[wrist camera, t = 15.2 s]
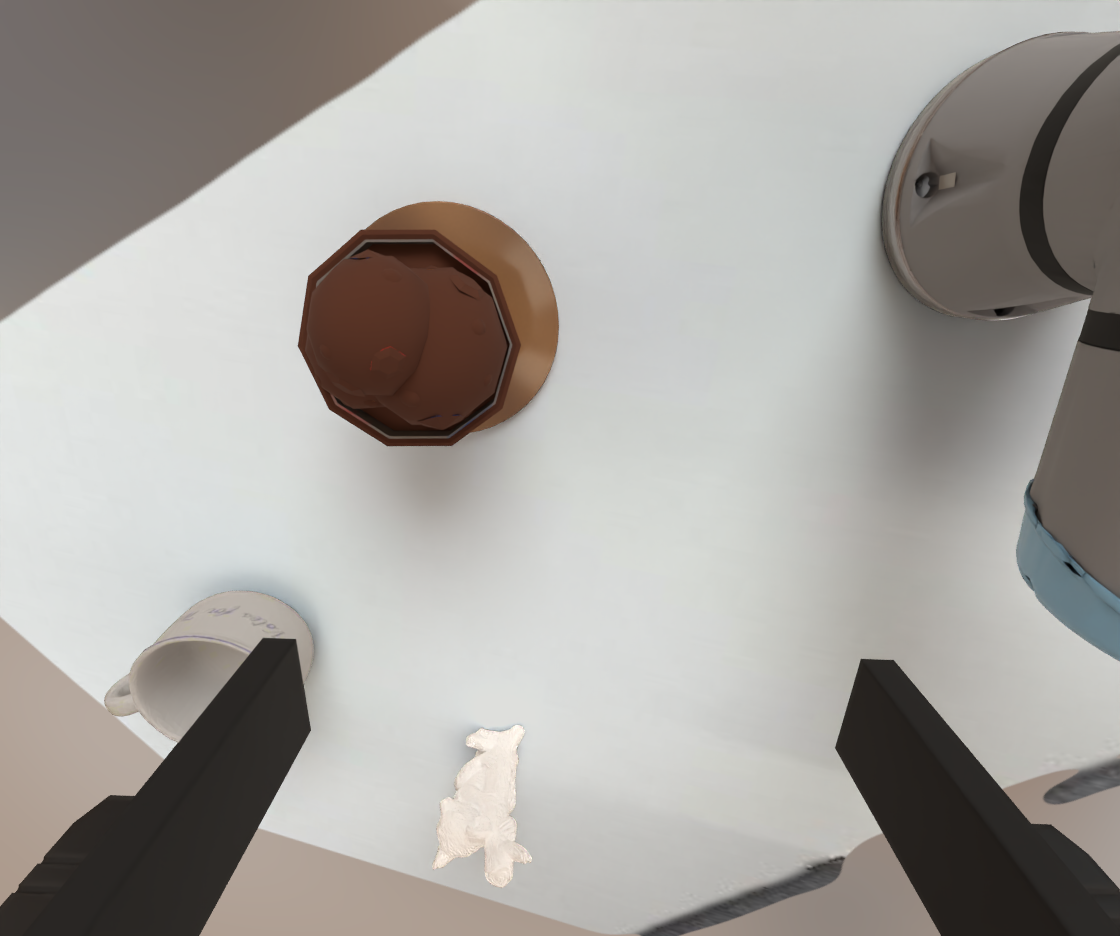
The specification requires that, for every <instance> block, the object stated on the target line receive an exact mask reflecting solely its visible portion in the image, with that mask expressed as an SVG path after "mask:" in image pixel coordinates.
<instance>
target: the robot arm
mask: <svg viewBox="0 0 1120 936" xmlns="http://www.w3.org/2000/svg"><path fill="white" fill-rule="evenodd" d="M882 231H883V240H884V245H885V249H886V253H887V256H888V259H889V262H890V264H891V267H892V269H893V271H894V273H895V275H896V276H897V278H898V279H899V281H900V283H901V284H902V285H903V286H904V288H905V289H906V290H907V291H908V292H909V293H910V294H911V295H912V296H913V297H914V298H915V299H917V300H918V301H919V302H921V303H922V304H924V305H925V306H927V307H929V308H931V309H933V310H935V311H938V312H940V313H943V314H947V315H950V316H955V317H961V318H969V319H977V320H990V321H992V320H1007V319H1014V318H1019V317H1023V316H1027V315H1030V314H1034V313H1037V312H1041V311H1045V310H1049V309H1052V308H1056V307H1059V306H1063V305H1067V304H1070V303H1074V302H1077V301H1081V300H1085V299H1088V298H1091V301H1090V304H1089V309H1088V312H1087V315H1086V319H1085V322H1084V325H1083V328H1082V332H1081V335H1080V337H1079V339H1078V341H1077V345H1076V348H1075V351H1074V354H1073V357H1072V361H1071V364H1070V367H1069V370H1068V373H1067V377H1066V380H1065V383H1064V386H1063V389H1062V392H1061V396H1060V399H1059V402H1058V405H1057V408H1056V412H1055V415H1054V418H1053V421H1052V424H1051V428H1050V431H1049V434H1048V437H1047V440H1046V443H1045V447H1044V450H1043V453H1042V456H1041V459H1040V463H1039V466H1038V469H1037V472H1036V475H1035V478H1034V479H1032V480H1030V482H1029V483H1028V485H1027V487H1026V491H1025V495H1024V505H1025V513H1024V517H1023V522H1022V526H1021V531H1020V535H1019V539H1018V543H1017V549H1016V557H1017V564H1018V567H1019V571H1020V573H1021V575H1022V577H1023V579H1024V580H1025V582H1026V583H1027V585H1028V586H1029V587H1030V588H1031V589H1032V590H1033V591H1034V592H1035V595H1036V597H1037V599H1038V600H1039V602H1040V603H1041V604H1042V605H1043V606H1044V607H1045V608H1046V609H1047V610H1048V611H1049V612H1050V613H1051V614H1053V615H1054V616H1055V617H1056V618H1057V619H1058V620H1059V621H1060V622H1062V623H1063V624H1064V625H1065V626H1067V627H1068V628H1069V629H1070V630H1072V631H1073V632H1074V633H1076V634H1077V635H1079V636H1080V637H1081V638H1083V639H1084V640H1086V641H1087V642H1089V643H1090V644H1092V645H1093V646H1095V647H1096V648H1098V649H1100V650H1101V651H1103V652H1104V653H1106V654H1108V655H1110V656H1111V657H1113V658H1115V659H1116V660H1118V661H1120V31H1115V32H1100V33H1088V32H1058V33H1051V34H1045V35H1041V36H1038V37H1034V38H1031V39H1028V40H1025V41H1023V42H1020V43H1017V44H1015V45H1013V46H1011V47H1009V48H1007V49H1005V50H1003V51H1001V52H999V53H997V54H994V55H992V56H990V57H988V58H986V59H984V60H982V61H980V62H978V63H977V64H975V65H973V66H972V67H970V68H969V69H967V70H965V71H964V72H963V73H961V74H960V75H959V76H957V77H956V78H955V79H953V80H952V81H951V82H950V83H949V84H948V85H946V86H945V87H944V88H943V89H942V90H941V91H940V92H939V93H938V94H937V95H936V96H935V97H934V98H933V99H932V100H931V101H930V102H929V104H928V105H927V106H926V107H925V108H924V110H923V111H922V112H921V113H920V115H919V116H918V118H917V119H916V120H915V122H914V123H913V125H912V126H911V128H910V129H909V131H908V133H907V134H906V136H905V138H904V140H903V142H902V144H901V146H900V148H899V149H898V152H897V154H896V157H895V159H894V161H893V164H892V167H891V170H890V173H889V176H888V180H887V184H886V188H885V193H884V199H883V208H882ZM310 731H311V727H310V721H309V715H308V709H307V703H306V697H305V690H304V684H303V678H302V672H301V666H300V660H299V653H298V647H297V641H296V639H284V638H262V639H261V641H260V642H259V643H258V644H257V646H256V647H255V648H254V649H253V651H252V652H251V653H250V654H249V656H248V657H247V658H246V659H245V661H244V662H243V663H242V664H241V665H240V667H239V668H238V669H237V670H236V672H235V673H234V674H233V675H232V677H231V678H230V679H229V680H228V682H227V683H226V684H225V685H224V686H223V688H222V689H221V690H220V691H219V693H218V694H217V695H216V696H215V698H214V699H213V700H212V701H211V703H210V704H209V705H208V706H207V708H206V709H205V710H204V711H203V712H202V714H201V715H200V716H199V717H198V719H197V720H196V721H195V722H194V724H193V725H192V726H191V727H190V729H189V730H188V731H187V732H186V734H185V735H184V736H183V737H182V738H181V740H180V741H179V742H178V743H177V745H176V746H175V747H174V748H173V750H172V751H171V752H170V753H169V755H168V756H167V757H166V758H165V759H164V761H163V762H162V763H161V765H160V766H159V767H158V768H157V769H156V771H155V772H154V773H153V775H152V776H151V777H150V778H149V780H148V781H147V782H146V783H145V784H144V786H143V787H142V788H141V789H140V790H139V792H138V793H137V794H136V795H135V796H116V795H110V796H108V797H107V798H106V799H105V800H103V801H102V802H101V803H99V804H98V805H97V806H95V807H94V808H93V809H91V810H90V811H89V812H87V813H86V814H85V815H84V816H82V817H81V818H80V819H78V820H77V821H76V822H74V823H73V824H72V826H71V827H70V828H69V829H68V830H67V831H66V832H65V833H64V834H63V836H62V837H61V838H60V839H59V840H58V841H57V843H56V844H55V845H54V846H53V847H52V848H51V849H50V851H49V852H48V853H47V854H46V855H45V856H44V860H43V861H42V863H41V864H37V865H36V866H35V867H34V869H33V870H32V871H31V872H30V873H29V874H28V875H27V877H26V878H25V879H24V880H23V881H22V882H21V883H20V884H19V888H18V890H17V891H16V892H15V893H12V894H11V895H10V896H9V897H8V898H7V899H6V901H5V902H4V903H3V904H2V905H1V906H0V936H199V935H200V933H201V931H202V930H203V928H204V926H205V924H206V922H207V920H208V918H209V917H210V915H211V913H212V911H213V909H214V908H215V906H216V904H217V902H218V900H219V898H220V896H221V895H222V893H223V891H224V889H225V887H226V885H227V884H228V882H229V880H230V878H231V876H232V874H233V873H234V871H235V869H236V867H237V865H238V863H239V861H240V860H241V858H242V856H243V854H244V852H245V850H246V849H247V847H248V845H249V843H250V841H251V839H252V838H253V836H254V834H255V832H256V830H257V828H258V827H259V825H260V823H261V821H262V819H263V817H264V816H265V814H266V812H267V810H268V808H269V806H270V805H271V803H272V801H273V799H274V797H275V795H276V793H277V792H278V790H279V788H280V786H281V784H282V782H283V781H284V779H285V777H286V775H287V773H288V771H289V770H290V768H291V766H292V764H293V762H294V760H295V759H296V757H297V755H298V753H299V751H300V749H301V747H302V746H303V744H304V742H305V740H306V738H307V736H308V735H309V733H310ZM835 749H836V750H837V752H838V754H839V756H840V757H841V759H842V761H843V763H844V765H845V766H846V768H847V770H848V772H849V773H850V775H851V777H852V779H853V780H854V782H855V784H856V786H857V788H858V789H859V791H860V793H861V795H862V796H863V798H864V800H865V802H866V803H867V805H868V807H869V809H870V811H871V812H872V814H873V816H874V818H875V819H876V821H877V823H878V825H879V826H880V828H881V830H882V832H883V834H884V835H885V837H886V838H887V841H888V842H889V844H890V846H891V848H892V849H893V851H894V853H895V855H896V857H897V858H898V860H899V862H900V863H901V865H902V867H903V869H904V871H905V872H906V874H907V876H908V878H909V880H910V881H911V883H912V885H913V887H914V888H915V890H916V892H917V894H918V895H919V897H920V899H921V901H922V903H923V904H924V906H925V908H926V910H927V911H928V913H929V915H930V917H931V919H932V920H933V922H934V924H935V925H936V927H937V929H938V931H939V933H940V934H941V936H1120V889H1119V888H1118V887H1117V886H1116V885H1115V883H1114V882H1113V881H1112V880H1111V879H1110V878H1109V877H1108V876H1107V875H1106V873H1105V872H1104V871H1103V870H1102V869H1101V868H1100V867H1099V866H1098V865H1097V863H1096V862H1095V861H1094V860H1093V859H1092V858H1091V857H1090V856H1089V855H1088V854H1087V853H1086V852H1085V851H1084V850H1082V849H1081V848H1080V847H1079V846H1077V845H1076V844H1075V843H1073V842H1072V841H1071V840H1070V839H1068V838H1067V837H1066V836H1065V835H1063V834H1062V833H1061V832H1060V831H1058V830H1057V829H1056V828H1054V827H1053V826H1052V825H1047V824H1031V823H1030V822H1029V821H1028V820H1027V818H1025V816H1024V815H1023V814H1022V813H1021V811H1020V810H1019V809H1018V808H1017V806H1016V805H1015V804H1014V803H1013V802H1012V801H1011V799H1010V798H1009V797H1008V796H1007V795H1006V793H1005V792H1004V791H1003V790H1002V789H1001V787H1000V786H999V785H998V784H997V783H996V781H995V780H994V779H993V778H992V777H991V775H990V774H989V773H988V772H987V771H986V770H985V768H984V767H983V766H982V765H981V764H980V762H979V761H978V760H977V759H976V758H975V756H974V755H973V754H972V753H971V752H970V750H969V749H968V748H967V747H966V746H965V745H964V743H963V742H962V741H961V740H960V739H959V737H958V736H957V735H956V734H955V733H954V731H953V730H952V729H951V728H950V727H949V725H948V724H947V723H946V722H945V721H944V720H943V718H942V717H941V716H940V715H939V714H938V712H937V711H936V710H935V709H934V708H933V706H932V705H931V704H930V703H929V702H928V700H927V699H926V698H925V697H924V696H923V695H922V693H921V692H920V691H919V690H918V689H917V687H916V686H915V685H914V684H913V683H912V681H911V680H910V679H909V678H908V677H907V675H906V674H905V673H904V672H903V671H902V670H901V668H900V667H899V666H898V665H897V664H896V662H895V661H894V660H874V659H861V661H860V664H859V668H858V671H857V675H856V678H855V682H854V685H853V688H852V692H851V695H850V699H849V702H848V706H847V709H846V712H845V716H844V719H843V723H842V726H841V730H840V733H839V736H838V740H837V743H836V747H835Z"/></svg>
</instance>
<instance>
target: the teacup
mask: <svg viewBox="0 0 1120 936" xmlns="http://www.w3.org/2000/svg"><path fill="white" fill-rule="evenodd" d="M262 638H284V639H296V641H297V647H298V653H299V660H300V666H301V672H302V678H303V684H304V683H305V681H306V679H307V677H308V674H309V672H310V669H311V665H312V661H313V655H314V646H313V639H312V636H311V633H310V630H309V628H308V627H307V625H306V623H305V622H304V620H303V619H302V618H301V616H300V615H299V614H298V613H297V612H296V611H294V610H293V609H292V608H291V607H290V606H288V605H287V604H285V603H284V602H282V601H280V600H278V599H276V598H274V597H271V596H269V595H265V594H262V593H258V592H253V591H228V592H223V593H219V594H215V595H213V596H210V597H208V598H206V599H204V600H202V601H200V602H198V603H196V604H195V605H194V606H192V607H191V608H190V609H189V610H187V611H186V612H185V613H184V614H183V615H182V616H180V617H179V618H178V619H177V620H176V621H175V622H174V623H173V624H172V625H171V626H170V627H169V628H168V629H167V630H166V631H165V632H164V633H163V634H162V635H161V636H160V637H159V638H158V640H157V641H156V642H155V643H154V644H153V645H151V646H150V647H148V648H147V649H145V650H144V651H143V652H142V653H141V654H140V656H139V657H138V658H137V659H136V660H135V662H134V663H133V665H132V667H131V670H130V673H129V674H128V675H126V676H125V677H123V678H122V679H120V680H119V681H118V682H117V683H115V684H114V685H113V686H112V687H111V688H110V690H109V691H108V692H107V694H106V696H105V699H104V702H105V706H106V708H107V709H108V711H109V712H110V713H111V714H112V715H115V716H128V715H131V714H134V713H136V712H140V714H141V715H142V716H143V717H144V719H145V720H146V721H147V722H148V723H149V724H151V725H152V726H153V727H154V728H155V729H156V730H158V731H159V732H161V733H162V734H163V735H165V736H166V737H168V738H170V739H171V740H174V741H176V742H179V741H180V740H181V738H182V737H183V736H184V735H185V734H186V732H187V731H188V730H189V729H190V727H191V726H192V725H193V724H194V722H195V721H196V720H197V719H198V717H199V716H200V715H201V714H202V712H203V711H204V710H205V709H206V708H207V706H208V705H209V704H210V703H211V701H212V700H213V699H214V698H215V696H216V695H217V694H218V693H219V691H220V690H221V689H222V688H223V686H224V685H225V684H226V683H227V682H228V680H229V679H230V678H231V677H232V675H233V674H234V673H235V672H236V670H237V669H238V668H239V667H240V665H241V664H242V663H243V662H244V661H245V659H246V658H247V657H248V656H249V654H250V653H251V652H252V651H253V649H254V648H255V647H256V646H257V644H258V643H259V642H260V641H261V639H262Z"/></svg>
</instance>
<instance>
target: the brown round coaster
mask: <svg viewBox="0 0 1120 936" xmlns="http://www.w3.org/2000/svg"><path fill="white" fill-rule="evenodd" d="M366 230H436V231H438V232H439V233H441V234H442V235H443V236H445V237H446V238H447V239H449V240H450V241H451V242H453V243H454V244H455V245H457V246H458V247H459V248H461V249H462V250H463V251H465V252H466V253H467V254H469V255H470V256H471V257H473V258H474V259H475V260H477V261H478V262H480V263H481V264H482V265H484V266H485V267H486V268H488V269H489V270H490V271H492V272H493V273H494V274H496V275H497V277H498V280H499V283H500V286H501V288H502V291H503V294H504V297H505V300H506V303H507V306H508V309H509V311H510V314H511V317H512V320H513V323H514V326H515V329H516V332H517V334H518V337H519V340H520V343H521V347H520V350H519V354H518V357H517V361H516V364H515V368H514V371H513V374H512V378H511V381H510V385H509V388H508V392H507V395H506V398H505V402H504V405H503V409H501V410H500V411H499V412H497V413H496V414H495V415H493V416H492V417H491V418H489V419H488V420H486V421H485V422H484V423H482V424H481V425H480V426H478V427H477V428H476V429H474V430H473V431H471V432H476V431H481V430H484V429H487V428H490V427H493V426H495V425H497V424H499V423H501V422H504V421H505V420H507V419H509V418H510V417H512V416H513V415H515V414H516V413H517V412H519V411H520V410H521V409H522V408H523V407H524V406H526V405H527V404H528V403H529V401H530V400H531V399H532V398H533V397H534V396H535V395H536V393H537V392H538V390H539V389H540V387H541V386H542V385H543V383H544V381H545V379H546V377H547V375H548V373H549V371H550V369H551V366H552V363H553V360H554V357H555V353H556V348H557V343H558V330H559V323H558V310H557V304H556V299H555V295H554V291H553V288H552V285H551V282H550V280H549V277H548V275H547V273H546V271H545V269H544V267H543V265H542V264H541V262H540V260H539V259H538V257H537V255H536V254H535V253H534V251H533V250H532V249H531V248H530V246H529V245H528V244H527V243H526V242H525V240H523V239H522V238H521V237H520V236H519V235H518V234H517V233H516V232H515V231H514V230H513V229H512V228H510V227H509V226H507V225H506V224H505V223H503V222H502V221H501V220H499V219H497V218H495V217H494V216H492V215H490V214H488V213H486V212H484V211H481V210H479V209H476V208H474V207H471V206H467V205H463V204H458V203H453V202H441V201H434V202H421V203H417V204H412V205H407V206H405V207H402V208H399V209H396V210H394V211H392V212H390V213H388V214H386V215H384V216H383V217H381V218H379V219H378V220H377V221H375V222H374V223H373V224H371V225H370V226H369V227H368V228H366Z"/></svg>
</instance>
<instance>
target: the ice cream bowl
mask: <svg viewBox="0 0 1120 936" xmlns="http://www.w3.org/2000/svg"><path fill="white" fill-rule="evenodd" d="M298 347H299V349H300V351H301V353H302V355H303V357H304V359H305V361H306V363H307V365H308V367H309V369H310V371H311V373H312V375H313V377H314V379H315V381H316V383H317V386H318V388H319V390H320V392H321V394H322V396H323V398H324V400H325V402H326V404H327V406H328V408H329V410H331V411H332V412H334V413H336V414H337V415H339V416H340V417H342V418H344V419H345V420H347V421H348V422H350V423H351V424H353V425H355V426H356V427H358V428H359V429H361V430H363V431H364V432H366V433H367V434H369V435H370V436H372V437H374V438H375V439H377V440H378V441H380V442H382V443H383V444H385V445H386V446H452V445H454V444H455V443H456V442H458V441H459V440H461V439H462V438H463V437H465V436H466V435H467V434H469V433H470V432H471V431H473V430H474V429H476V428H477V427H478V426H480V425H481V424H482V423H484V422H485V421H486V420H488V419H489V418H491V417H492V416H493V415H495V414H496V413H497V412H499V411H500V410H501V409H503V405H504V402H505V398H506V395H507V392H508V388H509V385H510V381H511V378H512V374H513V371H514V368H515V364H516V361H517V357H518V354H519V350H520V347H521V343H520V340H519V337H518V334H517V332H516V329H515V326H514V323H513V320H512V317H511V314H510V311H509V309H508V306H507V303H506V300H505V297H504V294H503V291H502V288H501V286H500V283H499V280H498V277H497V275H496V274H494V273H493V272H492V271H490V270H489V269H488V268H486V267H485V266H484V265H482V264H481V263H480V262H478V261H477V260H475V259H474V258H473V257H471V256H470V255H469V254H467V253H466V252H465V251H463V250H462V249H461V248H459V247H458V246H457V245H455V244H454V243H453V242H451V241H450V240H449V239H447V238H446V237H445V236H443V235H442V234H441V233H439V232H438V231H436V230H360V231H359V232H358V233H357V234H356V235H355V236H353V237H352V238H351V239H350V240H349V241H348V242H347V243H345V244H344V245H343V246H342V247H341V248H340V249H339V250H338V251H336V252H335V253H334V254H333V255H332V256H331V257H330V258H328V259H327V260H326V261H325V262H324V263H323V264H322V265H320V266H319V267H318V268H317V269H316V270H315V271H314V272H312V273H311V274H310V275H309V276H308V282H307V288H306V295H305V302H304V308H303V315H302V322H301V329H300V335H299V342H298Z"/></svg>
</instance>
